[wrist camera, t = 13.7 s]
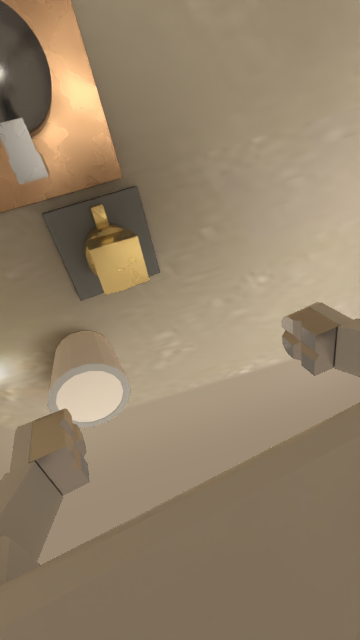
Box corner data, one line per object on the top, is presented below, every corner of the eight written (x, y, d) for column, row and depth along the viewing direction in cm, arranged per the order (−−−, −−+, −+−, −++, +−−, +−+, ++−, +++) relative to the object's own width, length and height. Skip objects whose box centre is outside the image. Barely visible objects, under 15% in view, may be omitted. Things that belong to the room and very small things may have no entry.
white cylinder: (80, 312, 30) (86, 349, 24) (130, 348, 33) (146, 387, 28) (32, 361, 30) (28, 409, 24) (87, 391, 34) (94, 439, 28)
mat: (42, 213, 25) (42, 214, 24) (135, 186, 26) (136, 186, 26) (80, 298, 29) (80, 300, 28) (158, 270, 30) (160, 272, 30)
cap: (68, 211, 25) (72, 223, 20) (120, 197, 26) (135, 206, 21) (99, 293, 29) (108, 318, 24) (143, 279, 30) (160, 300, 25)
